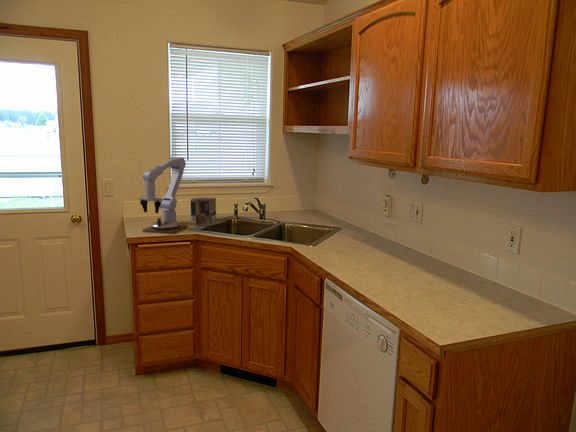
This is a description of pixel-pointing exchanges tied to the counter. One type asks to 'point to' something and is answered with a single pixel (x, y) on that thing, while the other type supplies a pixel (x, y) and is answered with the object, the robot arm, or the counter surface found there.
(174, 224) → the handwheel
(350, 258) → the counter surface
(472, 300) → the counter surface
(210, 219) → the coffee box
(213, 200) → the dark piece
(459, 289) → the counter surface
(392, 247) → the counter surface
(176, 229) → the wheel base
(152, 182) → the robot arm
